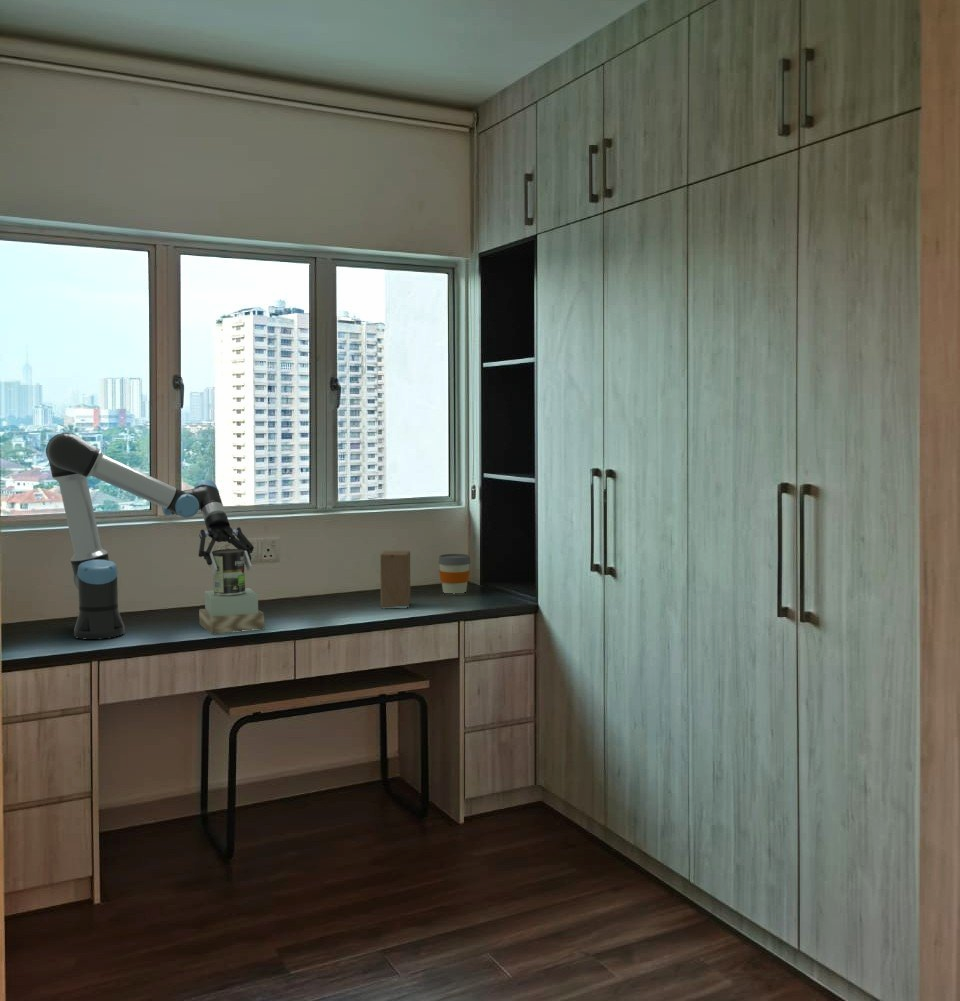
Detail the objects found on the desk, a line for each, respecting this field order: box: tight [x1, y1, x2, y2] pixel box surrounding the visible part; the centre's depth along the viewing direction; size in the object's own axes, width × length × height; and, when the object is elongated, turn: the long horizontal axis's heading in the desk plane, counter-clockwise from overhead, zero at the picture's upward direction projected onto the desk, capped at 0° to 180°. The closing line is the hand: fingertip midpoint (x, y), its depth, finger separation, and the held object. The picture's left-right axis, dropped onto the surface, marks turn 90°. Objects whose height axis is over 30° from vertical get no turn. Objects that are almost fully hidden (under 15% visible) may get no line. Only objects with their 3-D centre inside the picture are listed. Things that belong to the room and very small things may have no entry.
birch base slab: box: [198, 608, 265, 635], centre depth 335 cm, size 17×17×6 cm
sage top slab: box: [204, 587, 259, 617], centre depth 335 cm, size 15×15×6 cm
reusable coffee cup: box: [438, 553, 472, 594], centre depth 397 cm, size 13×13×15 cm
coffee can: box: [211, 548, 246, 596], centre depth 333 cm, size 10×10×14 cm
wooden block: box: [379, 550, 411, 608], centre depth 371 cm, size 10×10×20 cm
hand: (232, 570), depth 331 cm, fingers open, 11 cm apart
